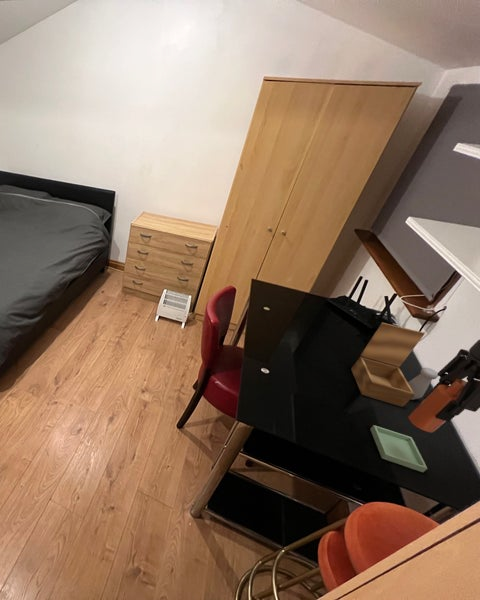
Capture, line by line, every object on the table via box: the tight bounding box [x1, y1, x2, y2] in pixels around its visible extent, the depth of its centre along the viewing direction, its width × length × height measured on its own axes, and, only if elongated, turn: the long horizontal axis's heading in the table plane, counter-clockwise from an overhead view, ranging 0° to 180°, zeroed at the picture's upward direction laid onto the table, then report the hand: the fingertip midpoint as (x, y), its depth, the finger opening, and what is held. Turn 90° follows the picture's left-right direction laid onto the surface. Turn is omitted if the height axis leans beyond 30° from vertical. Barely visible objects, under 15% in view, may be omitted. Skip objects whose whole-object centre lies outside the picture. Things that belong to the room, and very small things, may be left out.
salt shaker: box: [407, 367, 439, 401], centre depth 116 cm, size 6×6×13 cm
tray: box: [369, 424, 428, 473], centre depth 100 cm, size 11×10×2 cm
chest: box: [350, 356, 415, 408], centre depth 120 cm, size 15×13×7 cm
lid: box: [360, 322, 425, 368], centre depth 120 cm, size 15×13×1 cm
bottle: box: [407, 379, 467, 433], centre depth 89 cm, size 6×6×17 cm
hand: (436, 409), depth 90 cm, fingers closed on bottle, 6 cm apart
